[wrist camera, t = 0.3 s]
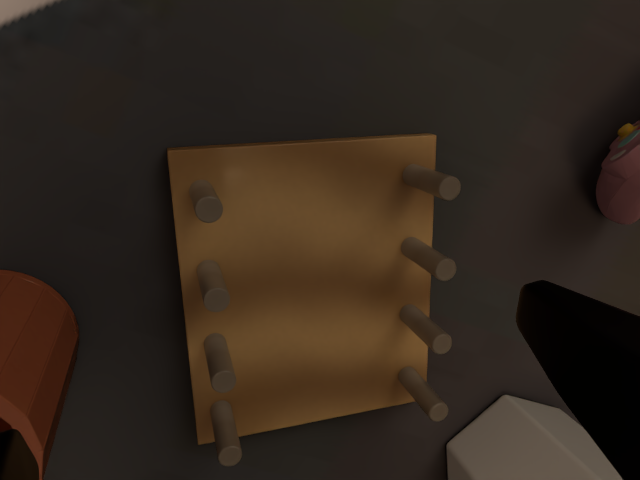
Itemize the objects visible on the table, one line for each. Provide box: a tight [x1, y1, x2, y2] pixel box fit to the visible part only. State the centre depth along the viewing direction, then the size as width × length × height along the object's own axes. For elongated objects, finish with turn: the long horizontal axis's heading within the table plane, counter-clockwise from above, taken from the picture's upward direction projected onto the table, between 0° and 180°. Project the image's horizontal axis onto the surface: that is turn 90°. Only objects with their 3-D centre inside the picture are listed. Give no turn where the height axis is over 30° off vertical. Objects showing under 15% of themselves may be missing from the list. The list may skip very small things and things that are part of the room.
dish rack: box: [167, 133, 461, 466], centre depth 24 cm, size 14×12×4 cm
